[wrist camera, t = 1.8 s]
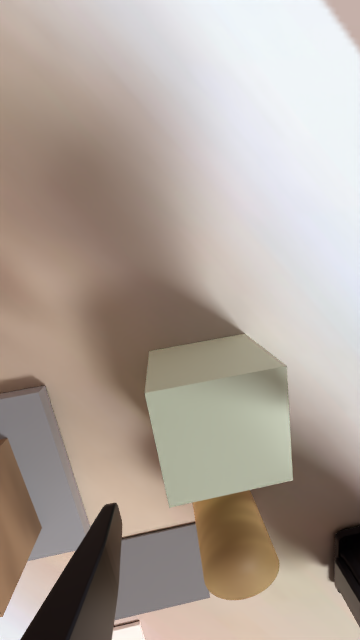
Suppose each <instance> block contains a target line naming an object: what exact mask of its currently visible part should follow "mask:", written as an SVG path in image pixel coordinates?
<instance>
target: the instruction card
mask: <svg viewBox="0 0 360 640" xmlns="http://www.w3.org/2000/svg"><path fill="white" fill-rule="evenodd" d="M112 640H145V637H144V633H143V630H142V627H141V623H140V621H138V622H134V623H130V624H126V625H122V626H118V627H113V634H112Z"/></svg>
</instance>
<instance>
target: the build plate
mask: <svg viewBox="0 0 360 640" xmlns="http://www.w3.org/2000/svg"><path fill="white" fill-rule="evenodd" d="M6 438H8V440H9V443H10V446H11V448H12V451H13V453H14V456H15V459H16V461H17V464H18V467H19V469H20V472H21V474H22V477H23V480H24V482H25V485H26V487H27V490H28V493H29V495H30V498H31V500H32V503H33V506H34V508H35V511H36V513H37V516H38V519H39V521H40V524H41V526H42V529H41V531H40V534H39V536H38V538H37V540H36V543H35V545H34V547H33V549H32V552H31V554H30V556H29V558H28V561H30V560H35V559H39V558H44V557H48V556H53V555H57V554H62V553H67V552H71V551H76V550H77V548H78V546H79V545H80V543H81V542H82V540H83V538H84V537H85V535H86V534H87V532H88V530H89V529H90V524H89V521H88V518H87V515H86V512H85V509H84V506H83V503H82V499H81V496H80V493H79V490H78V487H77V484H76V481H75V478H74V474H73V471H72V468H71V465H70V462H69V459H68V456H67V452H66V449H65V446H64V443H63V440H62V437H61V434H60V431H59V427H58V424H57V421H56V418H55V415H54V412H53V409H52V406H51V402H50V399H49V396H48V393H47V390H46V387H45V386H39V387H34V388H28V389H23V390H17V391H12V392H6V393H0V439H6Z"/></svg>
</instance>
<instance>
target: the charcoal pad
mask: <svg viewBox="0 0 360 640" xmlns="http://www.w3.org/2000/svg"><path fill="white" fill-rule="evenodd" d="M206 598H210V595H209V590H208V589H207V587H206V585H205V582H204V576H203V569H202V562H201V556H200V549H199V542H198V535H197V528H196V523H193V524H188V525H184V526H179V527H175V528H170V529H166V530H161V531H156V532H152V533H147V534H143V535H138V536H134V537H129V538H124V539H122V541H121V559H120V576H119V590H118V598H117V606H116V613H115V620H118V619H122V618H126V617H130V616H135V615H139V614H143V613H147V612H151V611H156V610H160V609H164V608H168V607H173V606H177V605H181V604H185V603H189V602H194V601H198V600H202V599H206Z"/></svg>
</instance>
